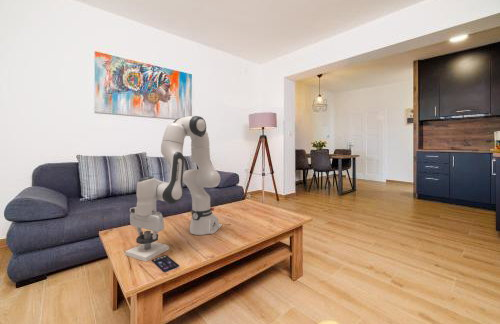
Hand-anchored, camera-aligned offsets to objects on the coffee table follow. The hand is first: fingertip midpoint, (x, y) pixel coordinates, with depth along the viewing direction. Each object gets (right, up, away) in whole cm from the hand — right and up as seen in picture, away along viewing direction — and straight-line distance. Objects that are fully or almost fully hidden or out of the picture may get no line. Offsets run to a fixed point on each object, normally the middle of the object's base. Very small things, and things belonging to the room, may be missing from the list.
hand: (147, 237), depth 110 cm
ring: (0, -1, 0) cm, 1 cm away
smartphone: (+13, -9, -10) cm, 18 cm away
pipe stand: (0, -8, +1) cm, 8 cm away
